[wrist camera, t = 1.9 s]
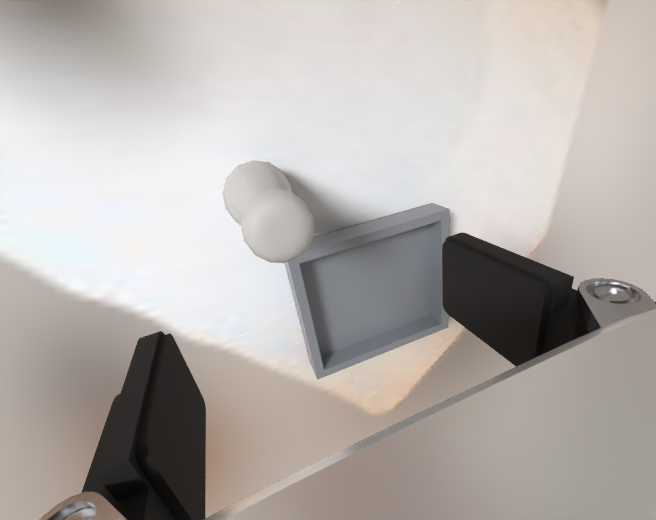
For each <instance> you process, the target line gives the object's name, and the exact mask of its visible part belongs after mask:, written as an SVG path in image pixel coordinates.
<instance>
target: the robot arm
mask: <svg viewBox="0 0 656 520" xmlns="http://www.w3.org/2000/svg"><path fill="white" fill-rule="evenodd" d="M573 279H574V277H573V276H570V275H568V274H565V273H563V272H560V271H558V270H555V269H553V268H550V267H548V266H545V265H543V264H540V263H538V262H535V261H533V260H530V259H528V258H525V257H523V256H520V255H518V254H516V253H513V252H511V251H508V250H506V249H503V248H501V247H498V246H496V245H493V244H491V243H488V242H486V241H483V240H481V239H478V238H476V237H473V236H471V235H468V234H466V233H459V234H456V235H453V236H450V237H447V238H446V240H445V242H444V243H443V245H442V304H443V308H444V310H445V312H446V313H447V314H448V315H450V316H451V317H452V318H454V319H455V320H456V321H458V322H459V323H460V324H461V325H463V326H464V327H465V328H467V329H468V330H469V331H471V332H472V333H473V334H475V335H476V336H477V337H478V338H480V339H481V340H482V341H484V342H485V343H486V344H488V345H489V346H490V347H491V348H493V349H494V350H495V351H497V352H498V353H499V354H501V355H502V356H503V357H504V358H506V359H507V360H508V361H510V362H511V363H512V364H514V365H515V366H516V367H515V368H512V369H510V370H508V371H506V372H504V373H502V374H500V375H498V376H495V377H493V378H491V379H489V380H487V381H485V382H483V383H481V384H479V385H477V386H474V387H472V388H470V389H468V390H466V391H464V392H462V393H460V394H458V395H455V396H453V397H451V398H449V399H447V400H445V401H443V402H441V403H439V404H436V405H434V406H432V407H430V408H428V409H426V410H424V411H422V412H420V413H418V414H416V415H413V416H411V417H409V418H407V419H405V420H403V421H401V422H399V423H397V424H395V425H393V426H390V427H388V428H386V429H384V430H382V431H380V432H378V433H376V434H374V435H372V436H370V437H368V438H366V439H364V440H362V441H359V442H357V443H355V444H354V445H351V446H349V447H347V448H345V449H343V450H341V451H339V452H337V453H335V454H333V455H331V456H328V457H327V458H324V459H322V460H320V461H318V462H316V463H314V464H312V465H310V466H308V467H306V468H304V469H302V470H300V471H297V472H296V473H293V474H292V475H290V476H288V477H286V478H284V479H282V480H280V481H278V482H276V483H274V484H272V485H270V486H268V487H266V488H264V489H262V490H260V491H258V492H256V493H254V494H252V495H250V496H248V497H246V498H244V499H242V500H240V501H238V502H236V503H234V504H232V505H230V506H228V507H226V508H224V509H222V510H220V511H219V512H217V513H215V514H213V515H211V516H210V517H208V518H206V519H205V442H206V439H205V437H206V431H205V430H206V410H205V403H204V399H203V397H202V395H201V393H200V391H199V389H198V386H197V385H196V383H195V381H194V378H193V376H192V374H191V372H190V370H189V368H188V366H187V364H186V362H185V360H184V358H183V356H182V354H181V352H180V350H179V348H178V346H177V344H176V342H175V340H174V338H173V336H172V335H171V334H167V335H165V334H164V333H163V332H161V331H160V332H157V333H154V334H151V335H148V336H145V337H142V338H139V340H138V343H137V345H136V349H135V351H134V355H133V358H132V361H131V364H130V367H129V370H128V373H127V376H126V379H125V382H124V385H123V388H122V391H121V394H119V395H117V396H116V397H115V399H114V401H113V403H112V406H111V409H110V412H109V415H108V417H107V420H106V423H105V426H104V429H103V432H102V435H101V438H100V441H99V444H98V446H97V449H96V452H95V455H94V458H93V461H92V464H91V467H90V470H89V473H88V475H87V478H86V481H85V484H84V487H83V490H82V493H80V494H77V495H75V496H72V497H70V498H68V499H66V500H65V501H63V502H61V503H59V504H58V505H56V506H55V507H54V508H53V509H51V510H50V511H49V512H48V513H47V514H45V515H44V516H43V517H42V518H41V519H40V520H656V302H654V301H653V300H652V299H651V298H650V296H649V295H648V294H647V293H646V292H644V291H643V290H642V289H640V288H638V287H636V286H634V285H632V284H629V283H626V282H623V281H618V280H614V279H604V278H598V279H589V280H585V281H583V282H581V283H580V285H579V286H578V291H577V290H574V289H572V283H573Z"/></svg>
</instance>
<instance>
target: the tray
mask: <svg viewBox="0 0 656 520" xmlns="http://www.w3.org/2000/svg"><path fill="white" fill-rule="evenodd" d="M447 237H449V209H447V208H445V207H442V206H439V205H436V204H433V203H430V204H427V205H423V206H420V207H416V208H413V209H410V210H406V211H403V212H399V213H396V214H392V215H389V216H385V217H382V218H378V219H375V220H371V221H368V222H364V223H361V224H357V225H354V226H350V227H347V228H343V229H340V230H336V231H333V232H329V233H326V234H322V235H319V236H315V237H313V239H312V242H311V245H310V246H309V248H308V249H307V250H306V251H305V252H304V253H303V254H302V255H301V256H300V257H297V258H295V259H293V260H291V261H288V262H286V263H285V266H286V270H287V274H288V278H289V281H290V285H291V289H292V293H293V297H294V301H295V305H296V309H297V313H298V317H299V320H300V324H301V328H302V332H303V336H304V340H305V344H306V348H307V352H308V356H309V359H310V363H311V365H312V368H313V370H314V372H315V375H316V377H317V379H320V378H322V377H325V376H327V375H330V374H332V373H335V372H337V371H340V370H342V369H345V368H347V367H350V366H352V365H355V364H357V363H360V362H362V361H365V360H367V359H370V358H373V357H375V356H378V355H380V354H383V353H385V352H388V351H390V350H393V349H395V348H398V347H400V346H403V345H405V344H408V343H410V342H413V341H415V340H418V339H420V338H423V337H425V336H428V335H430V334H433V333H435V332H438V331H440V330H443V329H445V328H448V314H447V313H446V312H445V310H444V308H443V304H442V245H443V243H444V242H445V240H446V238H447Z"/></svg>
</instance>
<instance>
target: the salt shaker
mask: <svg viewBox="0 0 656 520" xmlns="http://www.w3.org/2000/svg"><path fill="white" fill-rule="evenodd" d="M223 198H224V202H225V207H226V209H227V211H228V212H229V213H230V215H231V216H232V217H233V219H234V220H235V221H236V222H237V223H238V224H240V225H241V227H242V232H243V237H244V241H245V242H246V244H247V245H248V246H249V248H250V249H251V250H252V252H253V253H254V254H255V255H256V256H258V257H260V258H262V259H264V260H266V261H269V262H278V263H286V262H288V261H291V260H293V259H295V258H297V257H300V256H301V255H302V254H303V253H304V252H305V251H306V250H307V249H308V248H309V246H310V245H311V242H312V239H313V236H314V233H315V225H314V216H313V214H312V212H311V210H310V209H309V207H308V206H307V204H306V202H305V201H304V200H303V199H301V198H299V197H298V196H296V195H295V194H293V192H292V188H291V184H290V183H289V181H288V179H287V178H286V176H285V175H284V173H283V172H282V171H281V170H280V169H278V168H277V167H275V166H274V165H272V164H271V163H269V162H261V161H250V162H248V163H245V164H242V165H239V166H237V167H236V168H235V169H234V171H233V172H232V173H231V174H230V175H229V176H228V177H227V179H226V182H225V186H224V190H223Z"/></svg>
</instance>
